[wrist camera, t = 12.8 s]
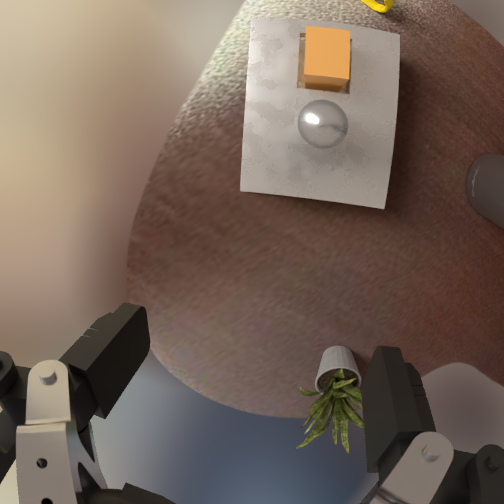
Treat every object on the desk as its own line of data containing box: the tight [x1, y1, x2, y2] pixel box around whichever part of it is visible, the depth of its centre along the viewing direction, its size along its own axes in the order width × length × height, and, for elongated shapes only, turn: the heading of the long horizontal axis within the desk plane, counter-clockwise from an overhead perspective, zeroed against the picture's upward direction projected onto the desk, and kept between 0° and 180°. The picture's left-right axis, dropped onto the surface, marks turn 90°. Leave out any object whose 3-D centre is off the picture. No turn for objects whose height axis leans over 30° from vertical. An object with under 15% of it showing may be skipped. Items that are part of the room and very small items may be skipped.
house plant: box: [297, 346, 364, 453], centre depth 41 cm, size 14×14×16 cm
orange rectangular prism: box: [304, 26, 350, 92], centre depth 27 cm, size 4×5×10 cm
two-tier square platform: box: [240, 17, 400, 209], centre depth 29 cm, size 18×21×12 cm
